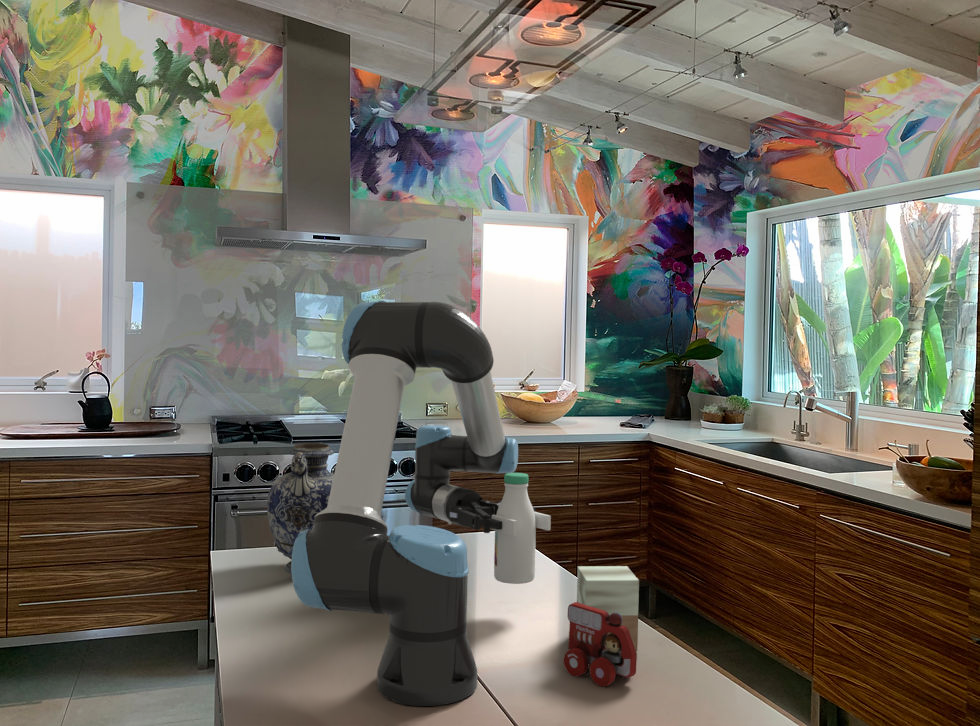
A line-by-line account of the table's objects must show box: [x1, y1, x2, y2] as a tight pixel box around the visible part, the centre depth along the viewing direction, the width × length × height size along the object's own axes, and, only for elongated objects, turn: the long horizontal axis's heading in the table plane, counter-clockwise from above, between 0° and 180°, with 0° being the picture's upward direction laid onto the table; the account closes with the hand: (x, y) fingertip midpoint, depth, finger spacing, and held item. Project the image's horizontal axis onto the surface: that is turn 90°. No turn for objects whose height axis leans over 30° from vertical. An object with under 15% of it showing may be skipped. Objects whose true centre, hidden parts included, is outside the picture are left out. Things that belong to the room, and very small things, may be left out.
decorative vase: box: [266, 442, 334, 575], centre depth 183 cm, size 21×19×28 cm
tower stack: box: [576, 565, 640, 651], centre depth 142 cm, size 8×9×12 cm
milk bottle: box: [493, 472, 537, 585], centre depth 155 cm, size 8×8×20 cm
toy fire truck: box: [563, 601, 638, 687], centre depth 128 cm, size 7×12×10 cm, turn 47°
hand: (532, 525), depth 151 cm, fingers closed on milk bottle, 8 cm apart
